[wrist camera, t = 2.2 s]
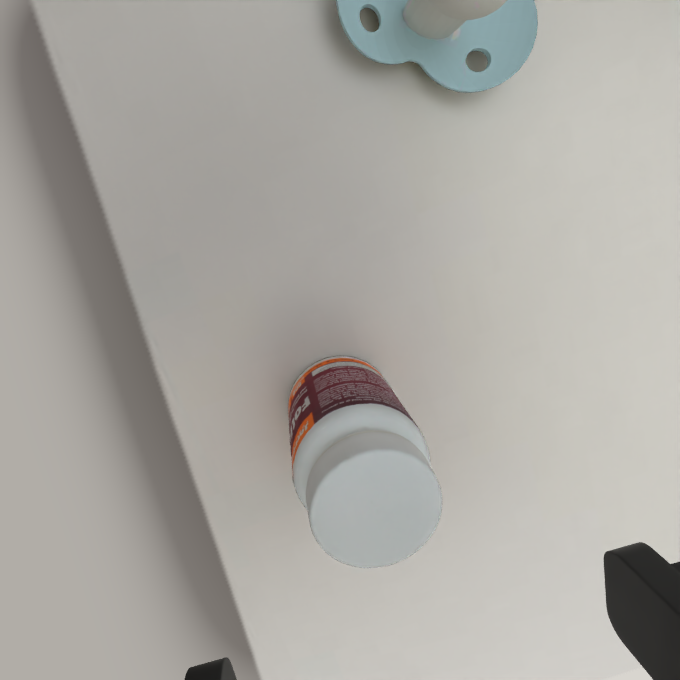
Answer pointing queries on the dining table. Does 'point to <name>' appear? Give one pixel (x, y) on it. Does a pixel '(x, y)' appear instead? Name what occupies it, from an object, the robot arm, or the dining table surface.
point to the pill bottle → (360, 465)
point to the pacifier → (446, 37)
